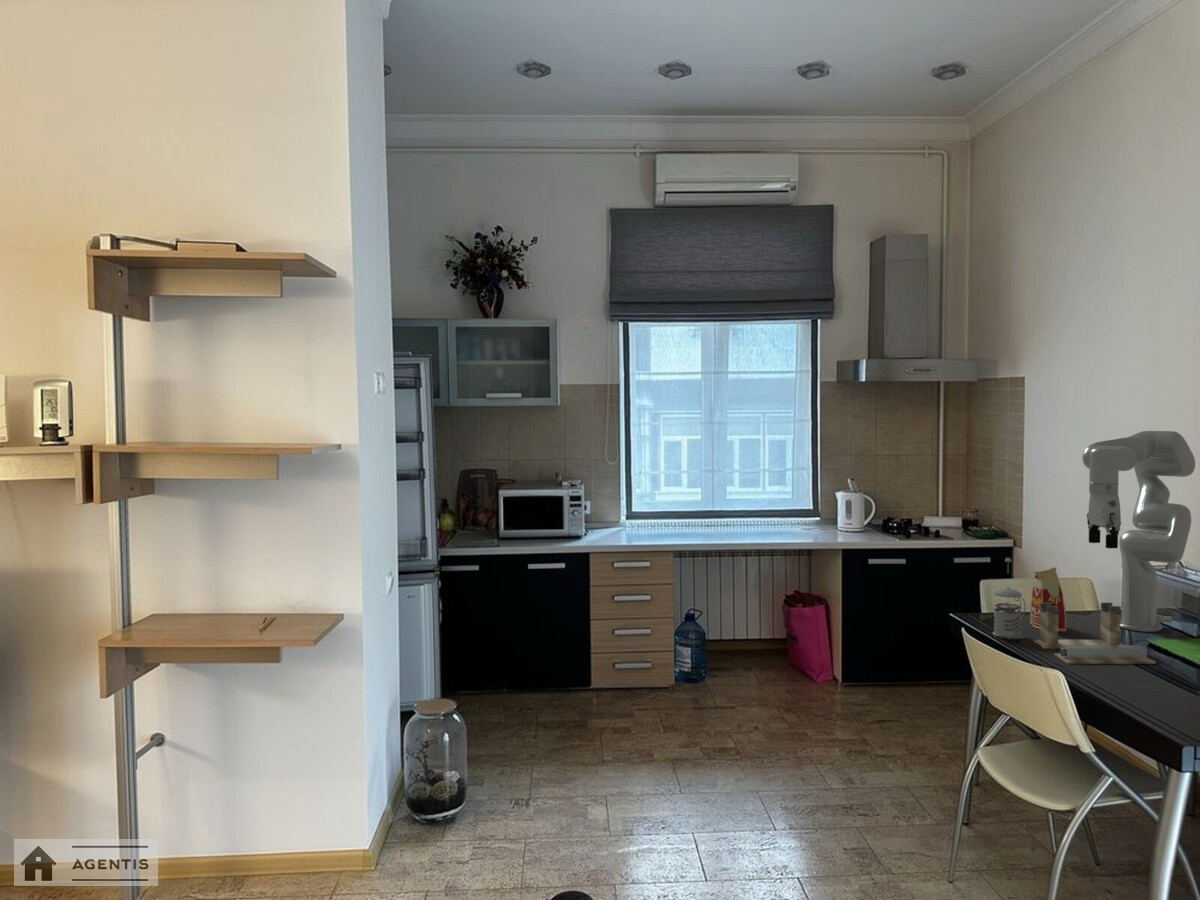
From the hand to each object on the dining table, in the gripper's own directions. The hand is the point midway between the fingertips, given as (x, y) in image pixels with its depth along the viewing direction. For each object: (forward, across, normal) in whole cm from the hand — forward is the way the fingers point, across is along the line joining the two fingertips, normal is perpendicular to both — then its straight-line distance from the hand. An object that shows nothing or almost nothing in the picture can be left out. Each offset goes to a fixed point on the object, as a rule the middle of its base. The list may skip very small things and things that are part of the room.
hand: (1102, 545), depth 257 cm
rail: (+30, -15, +7) cm, 34 cm away
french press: (+31, +10, +23) cm, 39 cm away
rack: (+30, -1, +7) cm, 31 cm away
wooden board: (+30, -15, +7) cm, 35 cm away
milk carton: (+31, +20, +7) cm, 37 cm away
